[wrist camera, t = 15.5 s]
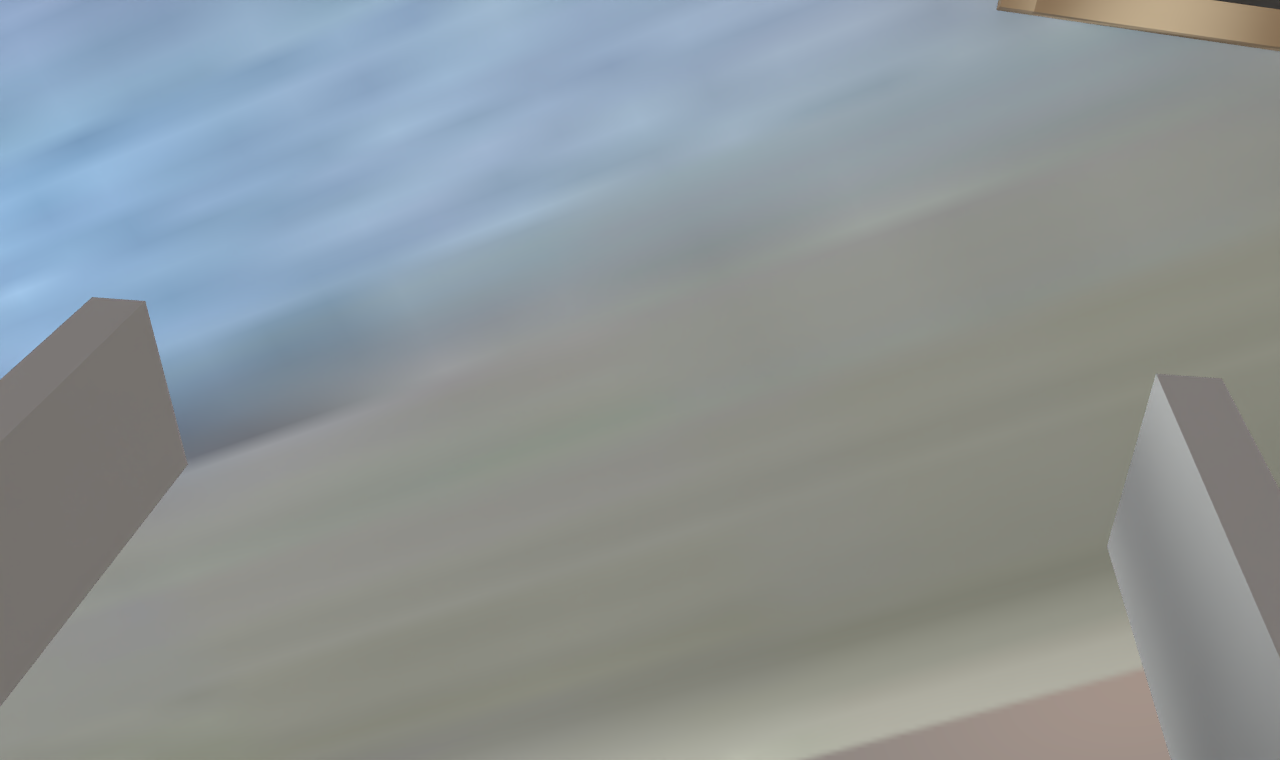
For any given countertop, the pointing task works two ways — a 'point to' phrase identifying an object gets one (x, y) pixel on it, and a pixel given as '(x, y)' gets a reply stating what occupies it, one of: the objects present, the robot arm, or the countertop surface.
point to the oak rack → (1167, 18)
